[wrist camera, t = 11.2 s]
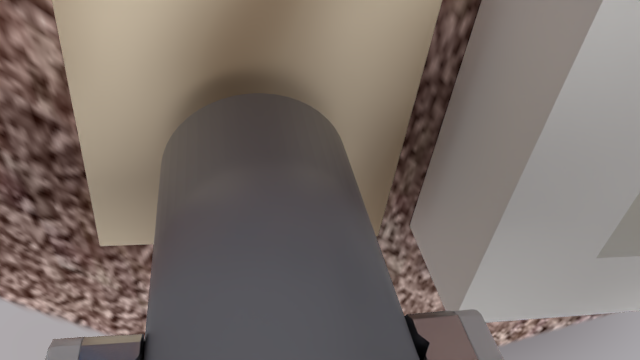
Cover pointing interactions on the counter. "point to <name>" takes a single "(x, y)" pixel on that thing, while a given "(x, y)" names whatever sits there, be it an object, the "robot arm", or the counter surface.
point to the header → (539, 165)
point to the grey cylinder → (266, 243)
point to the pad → (234, 84)
